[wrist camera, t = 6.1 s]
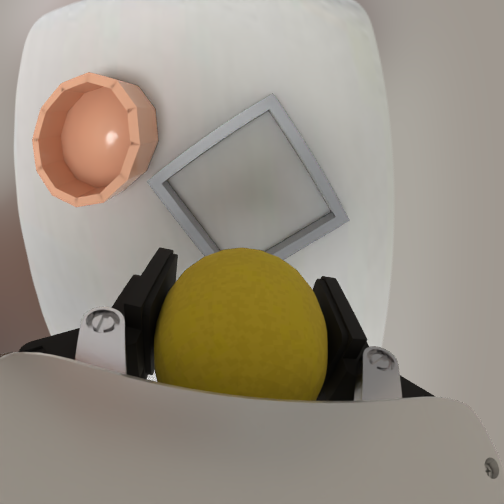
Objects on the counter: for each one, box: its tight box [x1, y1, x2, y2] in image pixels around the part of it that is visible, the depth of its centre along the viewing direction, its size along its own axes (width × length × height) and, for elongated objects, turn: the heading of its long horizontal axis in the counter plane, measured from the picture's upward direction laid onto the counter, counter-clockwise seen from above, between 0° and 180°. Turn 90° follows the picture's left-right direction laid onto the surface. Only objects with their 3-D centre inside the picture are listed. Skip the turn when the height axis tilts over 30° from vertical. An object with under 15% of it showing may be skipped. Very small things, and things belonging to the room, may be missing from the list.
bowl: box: [32, 72, 158, 207], centre depth 20 cm, size 11×11×4 cm
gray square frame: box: [147, 93, 350, 260], centre depth 25 cm, size 13×13×2 cm
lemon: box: [154, 248, 328, 401], centre depth 9 cm, size 6×6×8 cm
